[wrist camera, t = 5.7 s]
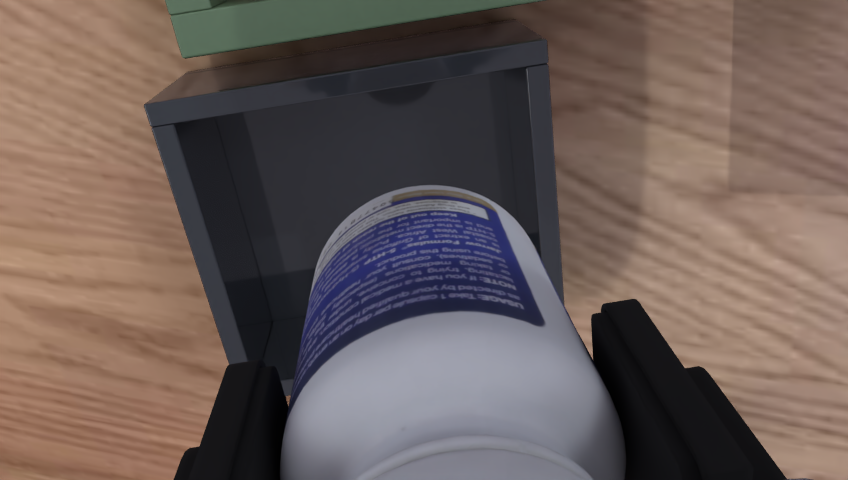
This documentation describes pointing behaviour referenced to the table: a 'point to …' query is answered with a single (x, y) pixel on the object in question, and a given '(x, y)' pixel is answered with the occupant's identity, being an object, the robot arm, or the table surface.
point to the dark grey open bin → (347, 160)
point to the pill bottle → (443, 354)
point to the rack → (298, 19)
